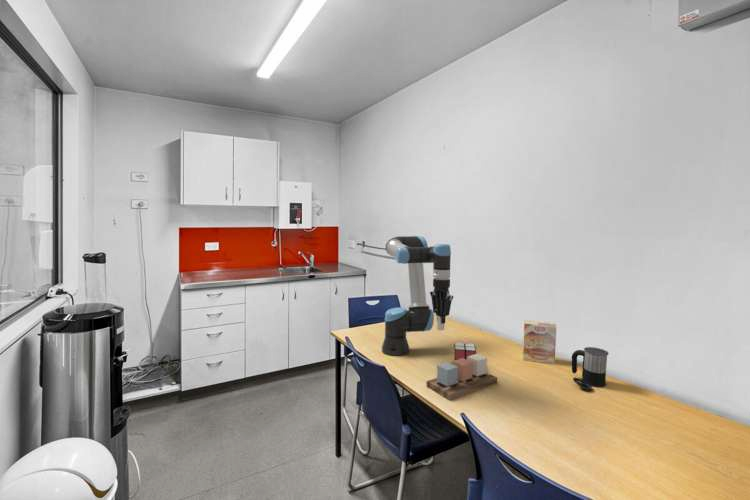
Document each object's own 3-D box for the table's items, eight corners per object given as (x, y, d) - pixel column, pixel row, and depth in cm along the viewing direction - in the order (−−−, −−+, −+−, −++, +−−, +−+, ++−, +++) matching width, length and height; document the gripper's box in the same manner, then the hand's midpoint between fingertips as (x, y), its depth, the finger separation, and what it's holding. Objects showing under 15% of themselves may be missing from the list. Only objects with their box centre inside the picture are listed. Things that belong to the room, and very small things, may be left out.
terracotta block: (452, 376, 160) (452, 360, 159) (462, 373, 163) (462, 357, 162) (462, 381, 155) (462, 365, 154) (472, 377, 158) (472, 362, 157)
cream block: (467, 371, 165) (467, 356, 164) (476, 368, 168) (476, 353, 167) (477, 376, 160) (477, 360, 159) (486, 373, 163) (486, 358, 162)
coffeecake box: (522, 360, 187) (524, 323, 185) (522, 355, 193) (524, 319, 192) (555, 364, 181) (556, 326, 179) (553, 359, 188) (555, 322, 186)
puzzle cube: (475, 371, 174) (476, 350, 173) (454, 369, 176) (454, 349, 175) (474, 362, 183) (474, 343, 183) (454, 361, 185) (454, 342, 185)
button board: (426, 386, 157) (426, 381, 157) (473, 371, 173) (473, 366, 173) (449, 400, 146) (449, 394, 145) (497, 382, 161) (497, 377, 161)
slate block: (437, 381, 155) (437, 365, 154) (447, 377, 158) (447, 362, 158) (447, 386, 150) (447, 370, 149) (457, 383, 153) (457, 367, 153)
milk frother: (603, 380, 164) (605, 348, 163) (613, 396, 149) (615, 361, 148) (568, 375, 169) (569, 344, 167) (574, 390, 154) (576, 357, 152)
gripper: (425, 277, 166) (424, 327, 169) (445, 281, 155) (444, 335, 157) (437, 275, 170) (436, 324, 173) (458, 279, 159) (457, 332, 161)
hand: (440, 329), depth 165 cm, fingers closed
